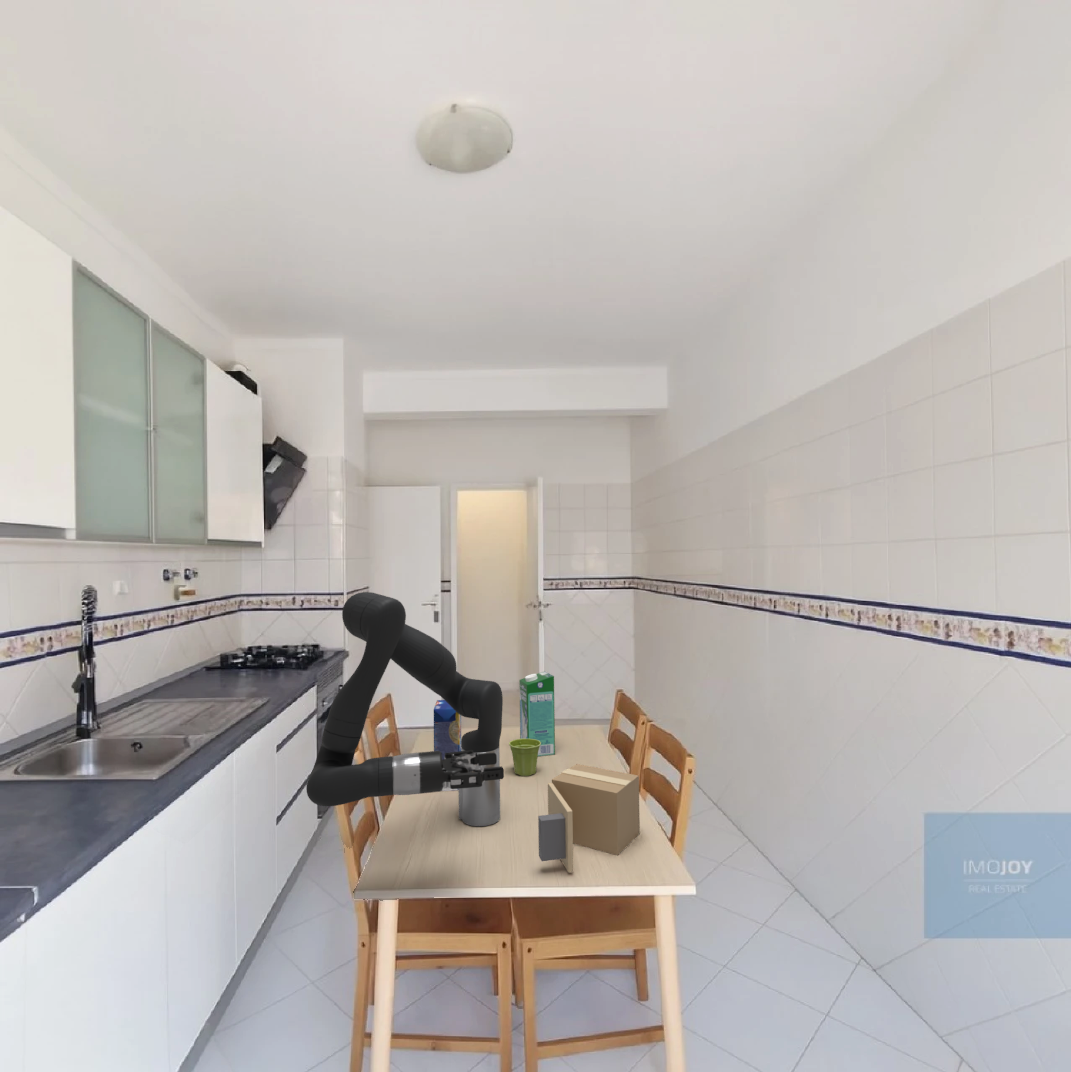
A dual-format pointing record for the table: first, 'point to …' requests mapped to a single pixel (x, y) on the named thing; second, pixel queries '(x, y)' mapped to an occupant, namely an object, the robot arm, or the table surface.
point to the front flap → (556, 830)
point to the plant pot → (525, 755)
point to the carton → (601, 806)
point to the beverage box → (446, 732)
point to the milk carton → (538, 711)
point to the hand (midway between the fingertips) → (499, 765)
